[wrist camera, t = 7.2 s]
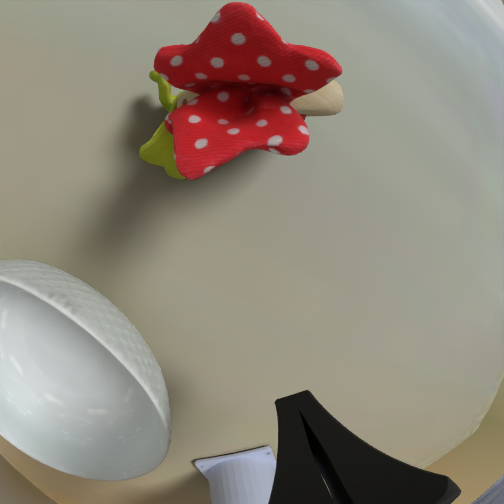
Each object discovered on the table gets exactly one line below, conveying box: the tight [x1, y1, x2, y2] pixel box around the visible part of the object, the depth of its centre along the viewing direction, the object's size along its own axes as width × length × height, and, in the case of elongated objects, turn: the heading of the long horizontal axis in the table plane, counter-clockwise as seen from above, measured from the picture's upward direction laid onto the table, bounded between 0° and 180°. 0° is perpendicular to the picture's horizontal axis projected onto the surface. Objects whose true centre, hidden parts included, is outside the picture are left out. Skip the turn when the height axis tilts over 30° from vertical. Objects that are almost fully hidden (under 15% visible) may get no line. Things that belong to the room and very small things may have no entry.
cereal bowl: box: [0, 259, 171, 481], centre depth 14 cm, size 17×17×7 cm
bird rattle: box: [139, 2, 344, 180], centre depth 10 cm, size 6×11×9 cm
